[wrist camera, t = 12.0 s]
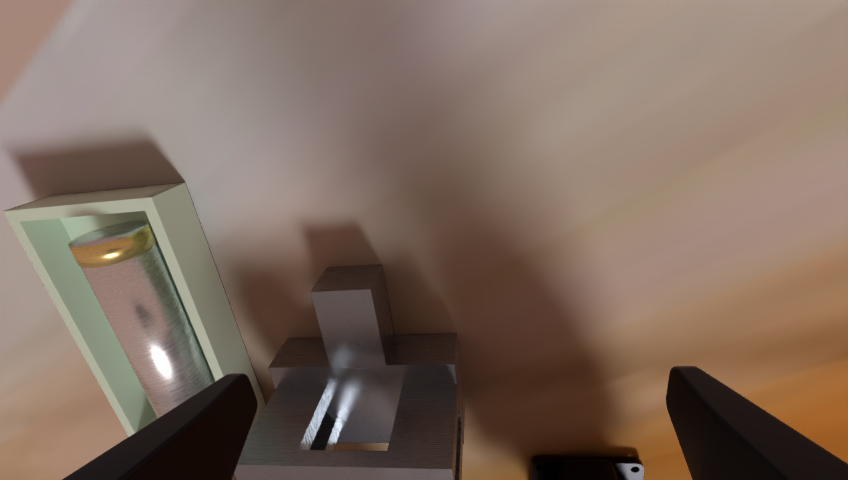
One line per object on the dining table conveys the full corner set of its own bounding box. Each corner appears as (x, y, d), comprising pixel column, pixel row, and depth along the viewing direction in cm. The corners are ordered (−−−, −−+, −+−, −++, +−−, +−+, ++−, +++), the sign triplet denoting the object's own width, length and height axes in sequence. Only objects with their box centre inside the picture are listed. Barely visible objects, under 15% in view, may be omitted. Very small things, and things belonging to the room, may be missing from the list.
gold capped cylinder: (223, 387, 27) (221, 424, 24) (167, 407, 26) (158, 447, 23) (153, 215, 22) (140, 235, 19) (81, 231, 21) (56, 254, 18)
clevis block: (465, 408, 25) (460, 531, 18) (309, 408, 27) (255, 522, 20) (448, 260, 21) (435, 351, 15) (266, 271, 23) (182, 357, 16)
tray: (268, 412, 27) (250, 443, 25) (158, 412, 28) (131, 442, 26) (185, 182, 21) (151, 197, 19) (49, 195, 22) (3, 211, 20)
